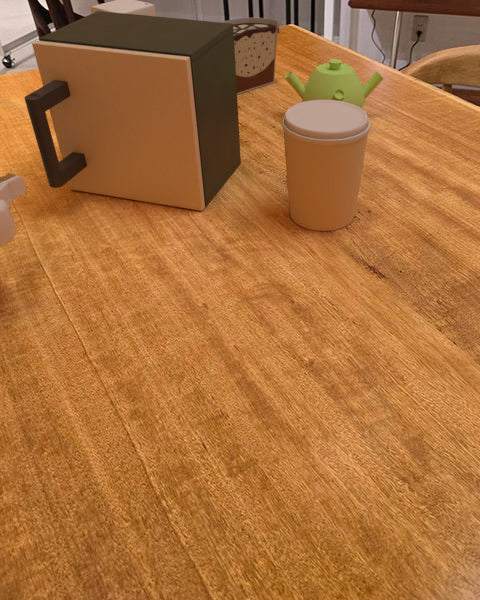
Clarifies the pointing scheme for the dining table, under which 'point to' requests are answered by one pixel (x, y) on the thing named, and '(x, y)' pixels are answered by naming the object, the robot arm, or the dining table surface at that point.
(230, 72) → the cupboard
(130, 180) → the door
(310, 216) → the coffee cup
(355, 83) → the teapot
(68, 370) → the dining table surface
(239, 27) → the food container
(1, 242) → the robot arm
